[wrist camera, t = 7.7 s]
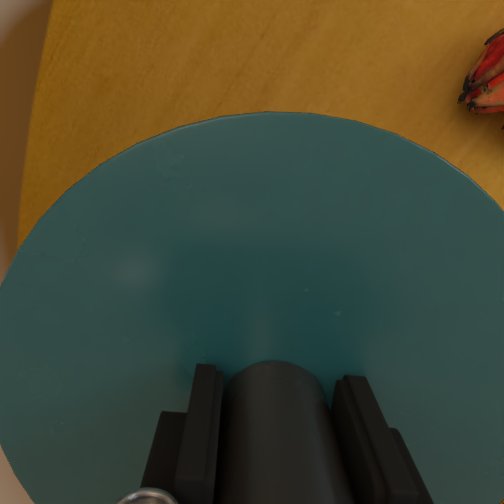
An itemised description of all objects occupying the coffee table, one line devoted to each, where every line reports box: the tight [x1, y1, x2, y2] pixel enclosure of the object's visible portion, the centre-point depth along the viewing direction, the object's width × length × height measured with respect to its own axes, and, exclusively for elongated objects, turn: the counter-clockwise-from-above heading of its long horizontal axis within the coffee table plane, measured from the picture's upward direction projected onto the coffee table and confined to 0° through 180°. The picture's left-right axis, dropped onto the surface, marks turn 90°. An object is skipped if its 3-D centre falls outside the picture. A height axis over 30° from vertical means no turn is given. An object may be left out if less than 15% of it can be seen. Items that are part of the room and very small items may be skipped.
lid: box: [0, 111, 504, 504], centre depth 11 cm, size 16×16×7 cm
